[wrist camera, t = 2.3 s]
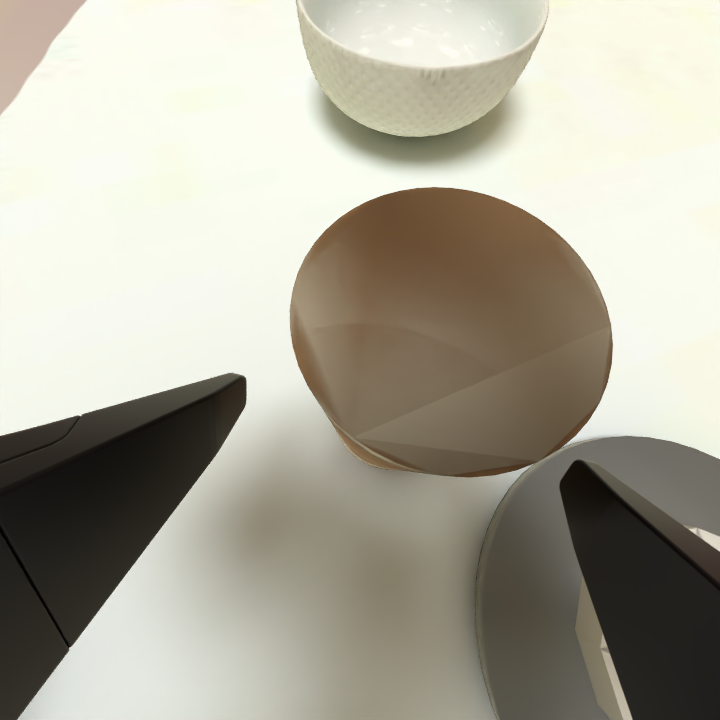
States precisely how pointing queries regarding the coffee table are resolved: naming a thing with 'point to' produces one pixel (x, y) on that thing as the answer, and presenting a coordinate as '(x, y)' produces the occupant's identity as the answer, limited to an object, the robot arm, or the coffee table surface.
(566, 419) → the brown cylindrical container
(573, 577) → the round tray
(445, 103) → the cereal bowl
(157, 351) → the coffee table surface
